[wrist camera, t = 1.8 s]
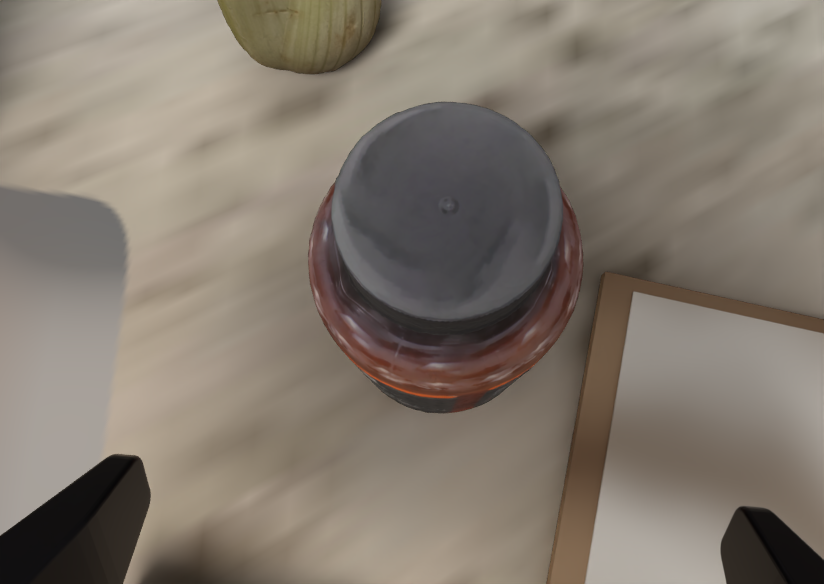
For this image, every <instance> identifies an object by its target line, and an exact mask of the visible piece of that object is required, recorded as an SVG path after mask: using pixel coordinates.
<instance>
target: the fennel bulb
mask: <svg viewBox="0 0 824 584" xmlns="http://www.w3.org/2000/svg"><path fill="white" fill-rule="evenodd" d="M217 1H218V4H219V6H220V8H221V10H222V13H223V15H224V17H225V19H226V22H227V24H228V26H229V27H230V29H231V31H232V33H233V34H234V36H235V38H236V39H237V41H238V43H239V44H240V45H241V46H242V48H243V49H244V50H245V51H247V52H248V54H249V55H250V56H251V57H252V58H253V59H254V60H255V61H257V62H258V63H260V64H261V65H264V66H266V67H270V68H274V69H280V70H290V71H293V72H296V73H303V74H319V73H324V72H329V71H335V70H337V69H338V68H340V67H341V66H343V65H344V64H346V63H347V62H349V61H351V60H352V59H353V58H355V57H356V56H357V55H358V54H359V53H360V52H361V51H362V50H364V48H365V47H366V46H367V44H368V43H369V42H370V40H371V39H372V37H373V35H374V33H375V29H376V25H377V23H378V20H379V16H380V8H381V0H217Z"/></svg>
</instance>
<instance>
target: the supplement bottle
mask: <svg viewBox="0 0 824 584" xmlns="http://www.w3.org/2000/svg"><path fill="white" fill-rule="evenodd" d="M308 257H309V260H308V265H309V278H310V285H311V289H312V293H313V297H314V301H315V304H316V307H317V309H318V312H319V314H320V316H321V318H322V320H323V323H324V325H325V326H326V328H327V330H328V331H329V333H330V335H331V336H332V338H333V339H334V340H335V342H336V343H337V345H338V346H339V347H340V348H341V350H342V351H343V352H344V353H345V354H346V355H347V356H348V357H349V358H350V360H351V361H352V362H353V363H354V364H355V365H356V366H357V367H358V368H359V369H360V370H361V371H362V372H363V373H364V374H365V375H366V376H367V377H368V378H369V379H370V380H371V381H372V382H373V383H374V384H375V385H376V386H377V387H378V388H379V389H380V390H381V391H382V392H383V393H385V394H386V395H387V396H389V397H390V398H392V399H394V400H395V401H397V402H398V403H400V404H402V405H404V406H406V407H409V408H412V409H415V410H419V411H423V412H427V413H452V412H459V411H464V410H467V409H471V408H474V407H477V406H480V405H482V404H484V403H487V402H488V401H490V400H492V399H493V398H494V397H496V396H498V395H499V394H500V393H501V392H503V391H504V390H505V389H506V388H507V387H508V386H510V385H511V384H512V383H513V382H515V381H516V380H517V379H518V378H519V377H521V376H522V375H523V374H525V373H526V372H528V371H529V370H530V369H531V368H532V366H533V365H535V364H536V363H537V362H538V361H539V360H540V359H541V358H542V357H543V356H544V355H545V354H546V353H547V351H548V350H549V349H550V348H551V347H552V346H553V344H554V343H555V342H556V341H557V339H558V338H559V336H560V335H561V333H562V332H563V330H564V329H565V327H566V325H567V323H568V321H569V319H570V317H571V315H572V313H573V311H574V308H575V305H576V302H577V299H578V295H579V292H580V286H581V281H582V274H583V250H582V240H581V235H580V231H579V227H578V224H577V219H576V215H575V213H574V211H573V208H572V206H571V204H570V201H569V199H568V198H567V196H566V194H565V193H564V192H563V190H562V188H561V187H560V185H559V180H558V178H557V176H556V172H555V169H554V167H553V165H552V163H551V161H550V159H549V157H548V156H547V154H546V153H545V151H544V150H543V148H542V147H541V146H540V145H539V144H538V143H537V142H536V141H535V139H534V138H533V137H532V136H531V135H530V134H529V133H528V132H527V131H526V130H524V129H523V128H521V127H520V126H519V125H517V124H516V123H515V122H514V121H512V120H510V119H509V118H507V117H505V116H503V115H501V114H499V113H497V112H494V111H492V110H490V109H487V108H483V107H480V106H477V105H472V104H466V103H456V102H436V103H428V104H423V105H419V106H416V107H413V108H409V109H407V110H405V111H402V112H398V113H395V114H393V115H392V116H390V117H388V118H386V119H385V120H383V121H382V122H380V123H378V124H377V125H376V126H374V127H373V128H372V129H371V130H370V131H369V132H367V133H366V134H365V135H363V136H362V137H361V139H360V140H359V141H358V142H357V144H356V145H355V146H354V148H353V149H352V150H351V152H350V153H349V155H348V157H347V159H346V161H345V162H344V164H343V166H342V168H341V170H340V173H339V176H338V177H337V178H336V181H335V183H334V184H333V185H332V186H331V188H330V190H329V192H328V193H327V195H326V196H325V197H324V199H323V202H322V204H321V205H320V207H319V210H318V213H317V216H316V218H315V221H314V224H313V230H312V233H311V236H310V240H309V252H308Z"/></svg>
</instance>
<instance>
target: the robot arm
mask: <svg viewBox="0 0 824 584" xmlns="http://www.w3.org/2000/svg"><path fill="white" fill-rule="evenodd" d="M150 497H151V494H150V488H149V484H148V481H147V477H146V473H145V469H144V466H143V462H142V460H141V459H140V458H139V457H138V456H135V455H124V454H114V455H111V456H109V457H107V458H106V459H104V460H103V461H101V462H100V463H99V464H97V465H96V466H95V467H93V468H92V469H91V470H89V471H88V472H87V473H85V474H84V475H82V476H81V477H80V478H78V479H77V480H76V481H74V482H73V483H72V484H70V485H69V486H68V487H66V488H65V489H63V490H62V491H61V492H59V493H58V494H57V495H55V496H54V497H52V498H51V499H50V500H48V501H47V502H46V503H44V504H43V505H42V506H40V507H39V508H37V509H36V510H35V511H33V512H32V513H31V514H29V515H28V516H27V517H25V518H24V519H22V520H21V521H20V522H18V523H17V524H16V525H14V526H13V527H12V528H10V529H9V530H8V531H6V532H5V533H3V534H2V535H1V536H0V584H123V582H124V579H125V576H126V573H127V570H128V567H129V564H130V561H131V558H132V556H133V553H134V550H135V547H136V544H137V541H138V538H139V535H140V532H141V529H142V526H143V523H144V520H145V517H146V514H147V511H148V508H149V504H150ZM720 553H721V560H722V564H723V569H724V574H725V579H726V584H824V559H823V558H822V557H821V556H820V555H819V554H817V553H816V552H815V551H814V550H813V549H812V548H811V547H810V546H809V545H808V544H807V543H806V542H805V541H804V540H803V539H801V538H800V537H799V536H798V535H797V534H796V533H795V532H794V531H793V530H792V529H791V528H790V527H789V526H788V525H787V524H785V523H784V522H783V521H782V520H781V519H780V518H779V517H778V516H777V515H776V514H775V513H774V512H772V511H771V510H769V509H767V508H763V507H752V506H740V507H738V508H737V509H736V510H735V512H734V514H733V516H732V518H731V520H730V523H729V525H728V527H727V529H726V531H725V533H724V536H723V538H722V541H721V546H720Z"/></svg>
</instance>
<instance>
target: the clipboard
mask: <svg viewBox="0 0 824 584" xmlns="http://www.w3.org/2000/svg"><path fill="white" fill-rule="evenodd" d="M740 506H752V507H763V508H767V509H769V510H771V511H772V512H774V513H775V514H776V515H777V516H778V517H779V518H780V519H781V520H782V521H783V522H784V523H785V524H787V525H788V526H789V527H790V528H791V529H792V530H793V531H794V532H795V533H796V534H797V535H798V536H799V537H800V538H801V539H803V540H804V541H805V542H806V543H807V544H808V545H809V546H810V547H811V548H812V549H813V550H814V551H815V552H816V553H817V554H819V555H820V556H821V557H822V558H823V559H824V319H819V318H815V317H810V316H805V315H801V314H796V313H792V312H787V311H783V310H778V309H774V308H769V307H765V306H760V305H755V304H751V303H746V302H742V301H737V300H733V299H728V298H724V297H719V296H715V295H710V294H705V293H701V292H696V291H692V290H687V289H683V288H678V287H674V286H669V285H665V284H660V283H655V282H651V281H646V280H642V279H637V278H633V277H628V276H624V275H619V274H615V273H610V272H605V273H604V274H602V276H601V282H600V287H599V293H598V298H597V304H596V310H595V315H594V321H593V326H592V332H591V338H590V343H589V349H588V354H587V360H586V365H585V371H584V377H583V382H582V388H581V393H580V399H579V405H578V410H577V416H576V421H575V427H574V433H573V438H572V444H571V449H570V455H569V460H568V466H567V472H566V477H565V483H564V488H563V494H562V500H561V505H560V511H559V516H558V522H557V527H556V533H555V539H554V544H553V550H552V555H551V561H550V567H549V572H548V578H547V583H546V584H726V579H725V574H724V569H723V564H722V560H721V553H720V546H721V541H722V538H723V536H724V533H725V531H726V529H727V527H728V525H729V523H730V520H731V518H732V516H733V514H734V512H735V510H736V509H737V508H738V507H740Z"/></svg>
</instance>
